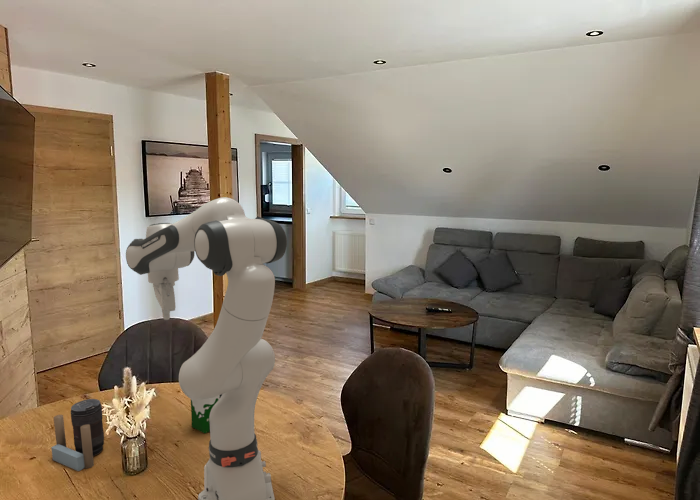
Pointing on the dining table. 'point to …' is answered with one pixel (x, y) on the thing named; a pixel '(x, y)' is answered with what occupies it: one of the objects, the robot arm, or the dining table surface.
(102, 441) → the camera lens
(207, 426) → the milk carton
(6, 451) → the dining table surface
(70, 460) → the peg rail
